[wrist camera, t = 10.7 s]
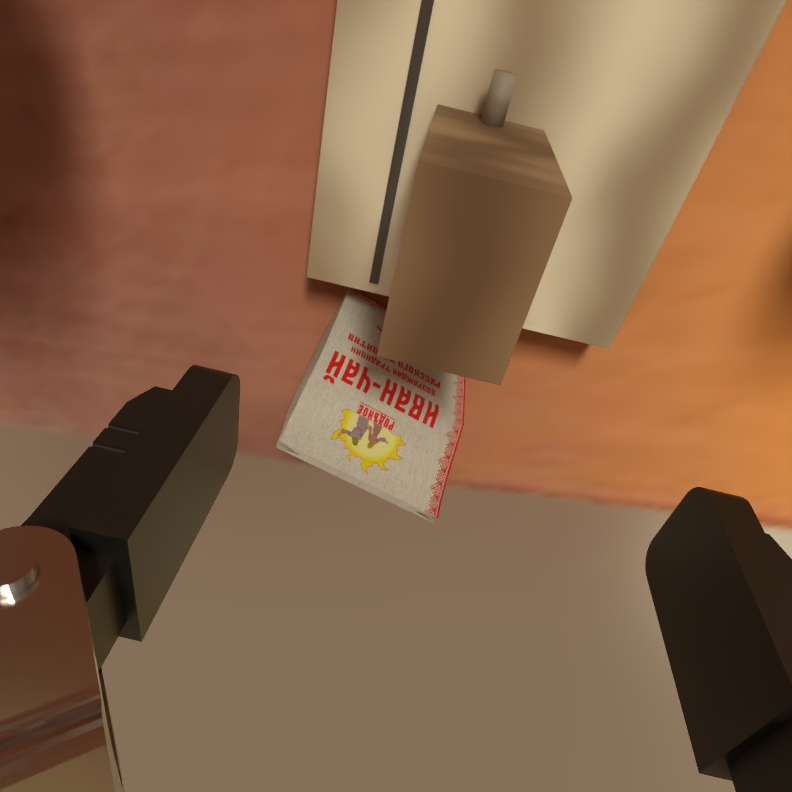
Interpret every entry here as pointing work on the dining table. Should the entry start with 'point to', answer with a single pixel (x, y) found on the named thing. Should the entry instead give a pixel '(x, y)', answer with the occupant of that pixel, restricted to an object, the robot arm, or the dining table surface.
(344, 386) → the tea bag
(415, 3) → the board
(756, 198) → the dining table surface
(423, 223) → the block
